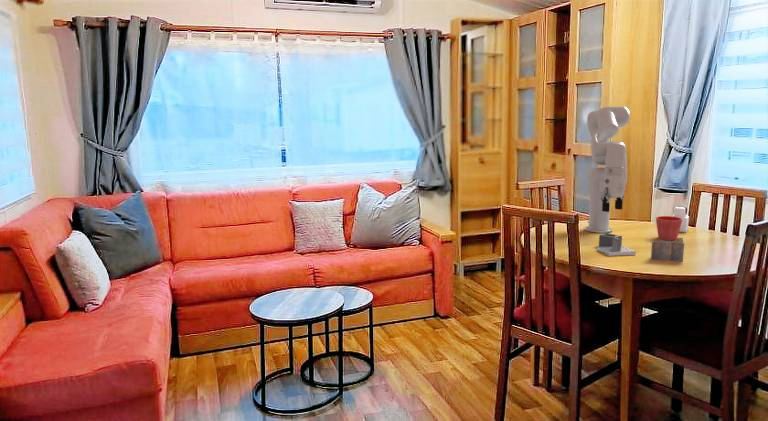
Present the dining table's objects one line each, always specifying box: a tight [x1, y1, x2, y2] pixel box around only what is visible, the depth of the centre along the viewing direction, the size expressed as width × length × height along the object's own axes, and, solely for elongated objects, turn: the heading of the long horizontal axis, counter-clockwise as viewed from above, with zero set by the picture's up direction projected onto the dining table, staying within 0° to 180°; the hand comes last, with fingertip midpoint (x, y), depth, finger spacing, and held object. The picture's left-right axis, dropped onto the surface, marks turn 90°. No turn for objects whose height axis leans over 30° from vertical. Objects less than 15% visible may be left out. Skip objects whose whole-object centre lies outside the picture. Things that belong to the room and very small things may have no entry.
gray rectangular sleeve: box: [598, 232, 623, 247], centre depth 253 cm, size 7×6×5 cm
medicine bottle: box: [671, 205, 690, 233], centre depth 284 cm, size 7×7×12 cm
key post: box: [596, 238, 637, 257], centre depth 242 cm, size 10×12×6 cm
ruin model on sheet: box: [650, 237, 685, 262], centre depth 230 cm, size 11×3×10 cm, turn 72°
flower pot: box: [655, 215, 682, 241], centre depth 267 cm, size 11×11×10 cm
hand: (612, 210), depth 251 cm, fingers open, 9 cm apart
